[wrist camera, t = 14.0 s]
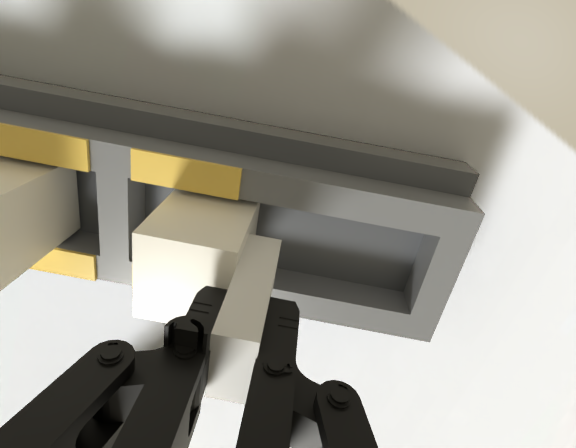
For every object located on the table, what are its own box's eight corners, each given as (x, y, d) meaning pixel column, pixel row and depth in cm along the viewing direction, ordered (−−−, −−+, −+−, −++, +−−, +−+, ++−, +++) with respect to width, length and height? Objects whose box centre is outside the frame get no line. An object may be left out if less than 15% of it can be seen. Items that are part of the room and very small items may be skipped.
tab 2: (180, 247, 22) (132, 316, 16) (184, 179, 20) (131, 232, 15) (251, 260, 22) (227, 334, 16) (261, 194, 20) (238, 252, 14)
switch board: (-116, 212, 25) (-194, 244, 21) (-170, 42, 21) (-280, 44, 17) (408, 312, 25) (423, 361, 21) (465, 162, 21) (497, 190, 17)
